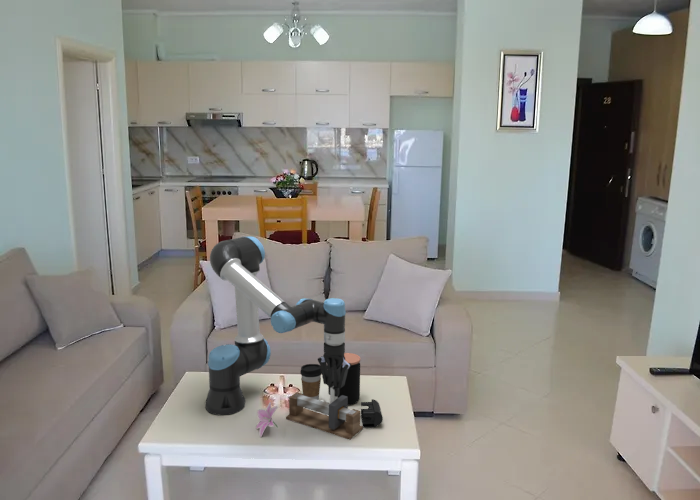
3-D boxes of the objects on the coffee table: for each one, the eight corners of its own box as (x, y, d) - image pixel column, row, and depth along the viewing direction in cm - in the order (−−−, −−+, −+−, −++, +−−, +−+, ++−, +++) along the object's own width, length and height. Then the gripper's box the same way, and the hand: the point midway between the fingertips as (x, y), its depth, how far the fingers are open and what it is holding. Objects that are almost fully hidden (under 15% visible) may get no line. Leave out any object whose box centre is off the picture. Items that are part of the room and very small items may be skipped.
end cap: (382, 428, 220) (383, 411, 219) (363, 428, 220) (363, 411, 218) (379, 415, 230) (379, 398, 228) (360, 415, 229) (360, 399, 228)
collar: (328, 427, 216) (328, 404, 214) (341, 417, 223) (342, 395, 221) (334, 429, 215) (334, 406, 213) (347, 419, 222) (347, 396, 220)
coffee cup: (318, 407, 235) (318, 371, 231) (297, 405, 236) (297, 369, 233) (323, 398, 243) (324, 363, 240) (303, 396, 244) (303, 361, 241)
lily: (259, 422, 225) (248, 405, 220) (288, 411, 224) (277, 394, 219) (259, 447, 215) (246, 430, 210) (289, 436, 214) (277, 419, 209)
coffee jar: (364, 397, 244) (365, 355, 240) (352, 408, 235) (352, 365, 231) (341, 391, 249) (341, 350, 245) (328, 402, 239) (328, 359, 235)
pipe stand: (285, 418, 226) (285, 398, 224) (300, 409, 233) (299, 389, 231) (349, 439, 212) (350, 418, 210) (362, 428, 219) (363, 408, 217)
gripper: (313, 341, 213) (313, 403, 218) (344, 349, 207) (343, 412, 212) (324, 335, 220) (324, 395, 225) (355, 342, 213) (354, 404, 218)
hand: (333, 403), depth 218 cm, fingers closed
